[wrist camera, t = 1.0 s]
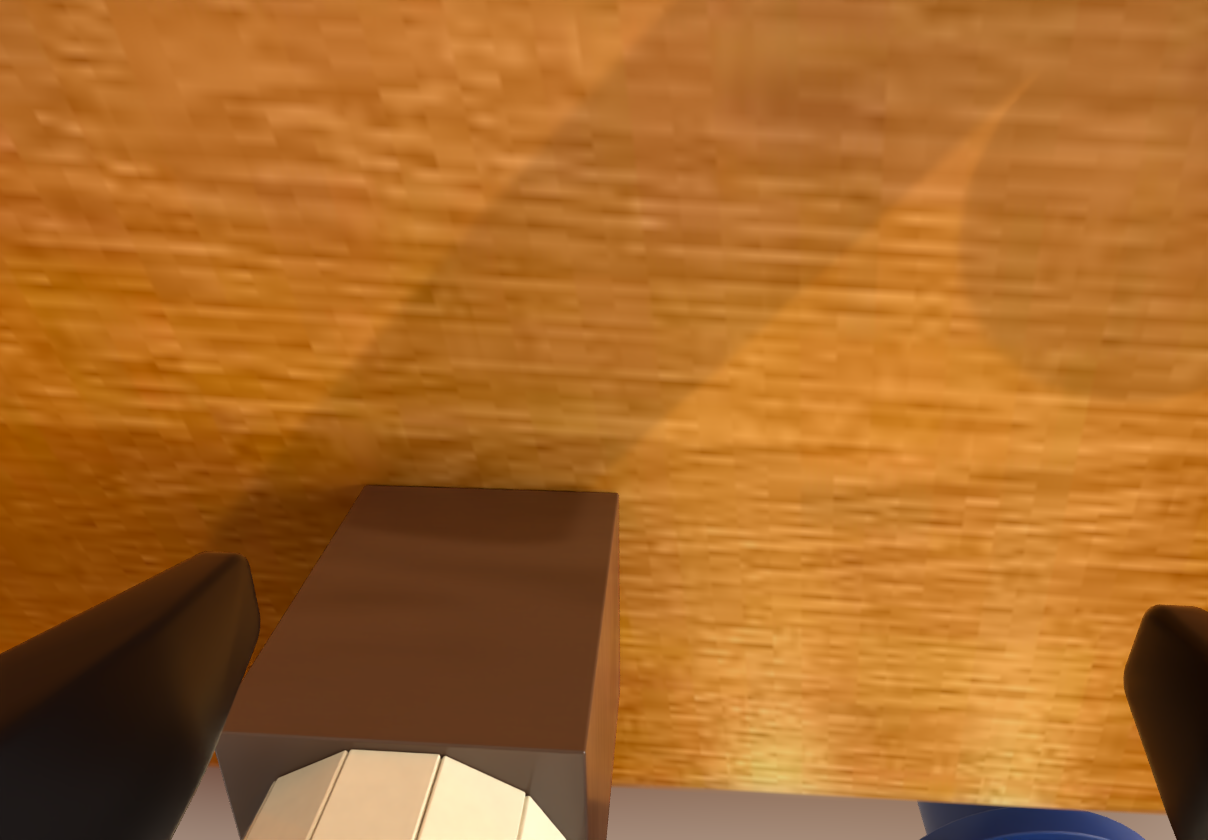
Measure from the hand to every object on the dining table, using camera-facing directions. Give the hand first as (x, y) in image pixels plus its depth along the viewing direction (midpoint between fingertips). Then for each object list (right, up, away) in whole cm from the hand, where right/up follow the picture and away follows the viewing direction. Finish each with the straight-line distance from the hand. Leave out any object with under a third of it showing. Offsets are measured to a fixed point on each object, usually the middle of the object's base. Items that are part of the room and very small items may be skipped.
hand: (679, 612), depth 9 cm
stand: (-4, -3, +17) cm, 17 cm away
